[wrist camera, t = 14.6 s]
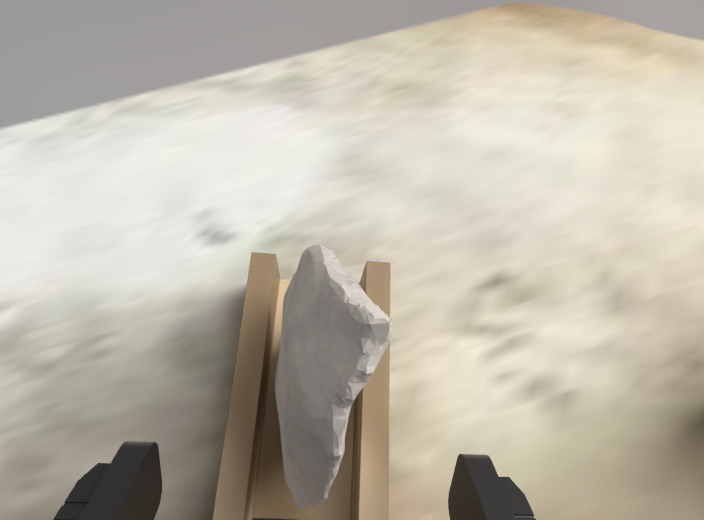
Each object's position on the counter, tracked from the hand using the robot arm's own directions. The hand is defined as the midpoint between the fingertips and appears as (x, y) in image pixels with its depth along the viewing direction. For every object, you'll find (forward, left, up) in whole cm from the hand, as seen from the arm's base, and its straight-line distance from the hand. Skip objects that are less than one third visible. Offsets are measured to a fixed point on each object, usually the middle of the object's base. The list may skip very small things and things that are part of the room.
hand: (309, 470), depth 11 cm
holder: (0, +3, -12) cm, 12 cm away
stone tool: (0, +3, -11) cm, 11 cm away
